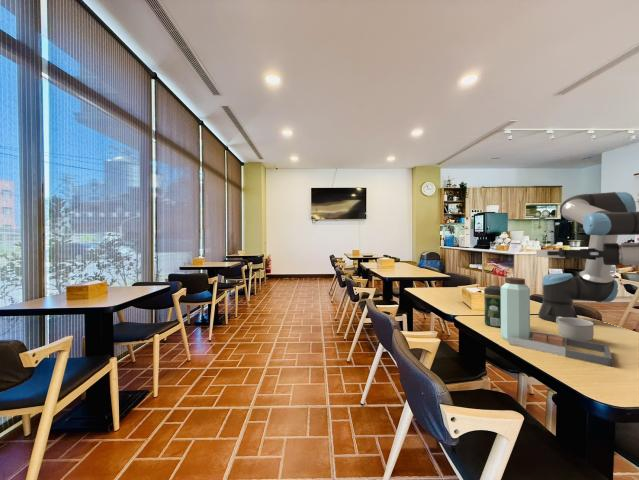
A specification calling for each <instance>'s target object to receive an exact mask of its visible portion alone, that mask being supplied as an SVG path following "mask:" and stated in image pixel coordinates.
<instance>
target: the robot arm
mask: <svg viewBox="0 0 639 480" xmlns="http://www.w3.org/2000/svg"><path fill="white" fill-rule="evenodd" d="M636 204H637V203H636V201H635V199H634V197H633V195H632V194H630V193H629V192H627V191H626V192H625V191H622V192H621V191H619V192H618V191H617V192H616V191H612V192H598V193H582V194H576V195H573V196H570V197H569V198H566V199H565V200H564V201H563V202H562V203H561V205H560V206H559V214H560V216H562V218H564V219H565V220H568V221H571V222H576V223H579V224H581V225H582V226H583V227H582V229H583V231H584V233H585V234H586V235H588V236H589V242H588V247H587V248H580V249H564V248H563V247H559V248H558V249H536V250H535V251H536V253H535V254H536V258H552V259H553V258H557V259H558V258H559V259H561V258H564V259H565V260H570V259H571V258H578V259H582V260H583V259H584V260H585V266H584V270H582V271H580V272H579V275H578V276H574V275H573V274H572V273H566V272H565V273H561V272H560V273H558V272H557V273H548V274H545V275H544V276H543V278H542V282H541V283H542V303H541V306H540V308H539V311H538V318H540V319H541V320H542V319H543V320H545V321H549V322H554V323H556V318H557V317H569V318H578V315H577V313H576V311H575V308H574V305H573V303H574V302H573V301H582V302H594V303H595V302H596V303H610V302H612V301H614V300H615V299H616V297H617V296H618V293H619V289H618V288H619V284H618V281H617V280H616V279H615V278H614V276H613V275H611V270H612V266H620V264H621V265H622V266H630V267H631V268H633V269H634V268H636V266H637V267H638V266H639V242H622V243H620V244H619V243H618V242H617V241H618V237H619V236H635V235H636V236H639V211H637V205H636Z"/></svg>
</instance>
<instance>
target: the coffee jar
mask: <svg viewBox="0 0 639 480" xmlns="http://www.w3.org/2000/svg"><path fill="white" fill-rule="evenodd" d="M483 297H484V299H483V300H484V301H483V302H484V324H485V325H486V326H489V327H492V328H497V327H498V328H501V286H500V285H489V286H486V287H485V288H484V295H483Z"/></svg>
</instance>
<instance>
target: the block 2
mask: <svg viewBox="0 0 639 480" xmlns="http://www.w3.org/2000/svg"><path fill="white" fill-rule="evenodd" d="M547 343H548V344H553V345H558V346H564V345H563V337H558V336H552V335H549V337H548V342H547Z"/></svg>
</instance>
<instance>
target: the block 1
mask: <svg viewBox="0 0 639 480" xmlns="http://www.w3.org/2000/svg"><path fill="white" fill-rule="evenodd" d="M532 340H533V341H538V342H543V343H548V342H547V335H544V334H538V333H534V334H533V339H532Z"/></svg>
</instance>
